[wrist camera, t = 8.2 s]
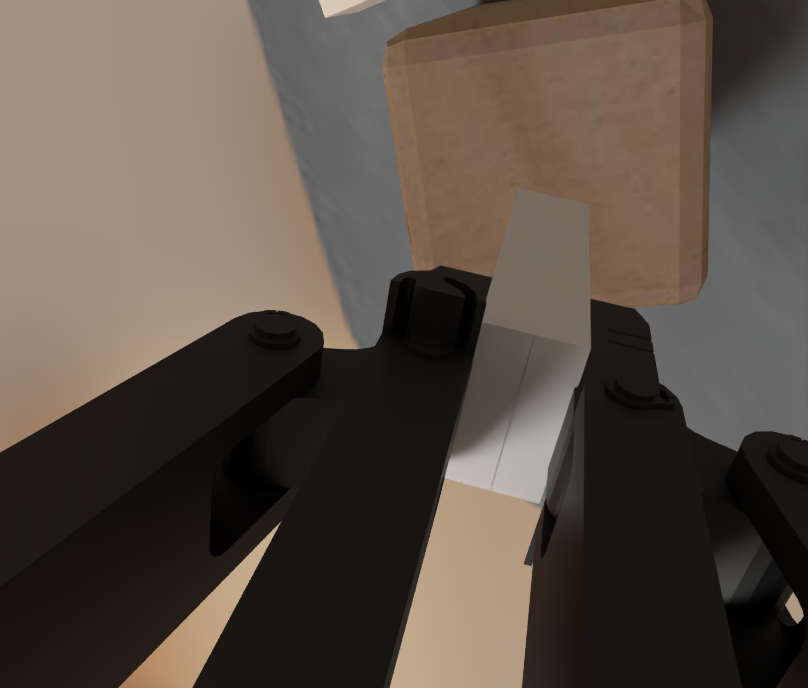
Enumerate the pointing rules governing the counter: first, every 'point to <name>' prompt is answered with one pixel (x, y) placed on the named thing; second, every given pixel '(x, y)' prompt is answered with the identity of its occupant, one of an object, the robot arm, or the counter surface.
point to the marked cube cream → (345, 6)
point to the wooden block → (560, 134)
